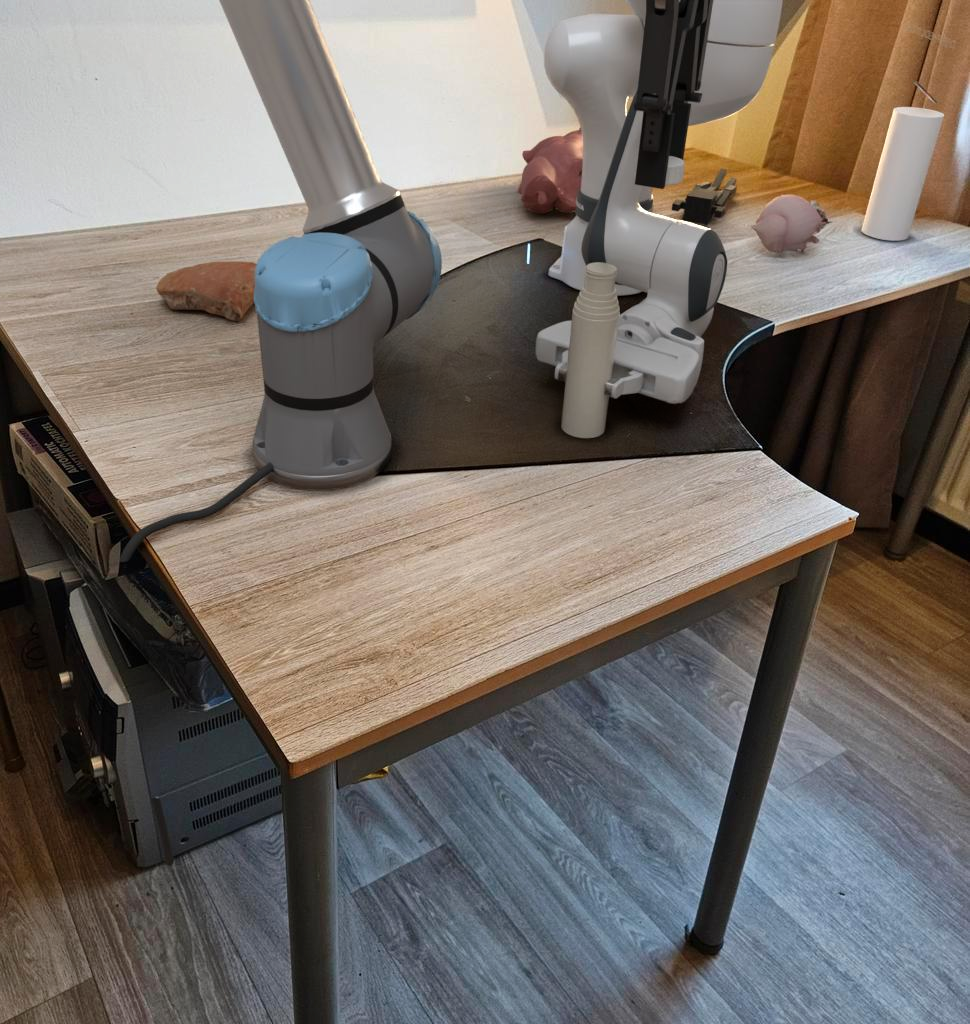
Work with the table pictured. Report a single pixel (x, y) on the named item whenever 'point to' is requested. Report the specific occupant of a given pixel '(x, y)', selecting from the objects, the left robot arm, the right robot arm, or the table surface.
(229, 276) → the ceramic shard
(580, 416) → the bottle
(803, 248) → the toy
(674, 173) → the cap
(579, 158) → the pink faceted figure
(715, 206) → the toy
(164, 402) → the table surface
